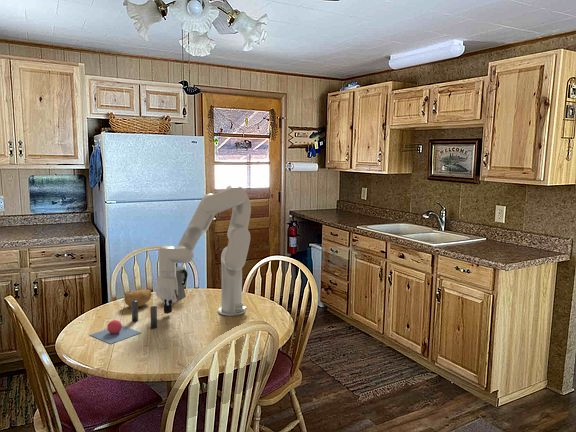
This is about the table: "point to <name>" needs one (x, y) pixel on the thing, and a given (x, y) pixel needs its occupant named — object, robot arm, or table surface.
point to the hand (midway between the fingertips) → (167, 312)
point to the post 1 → (134, 310)
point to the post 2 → (153, 316)
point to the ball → (114, 327)
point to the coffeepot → (181, 280)
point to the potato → (138, 297)
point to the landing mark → (115, 335)
